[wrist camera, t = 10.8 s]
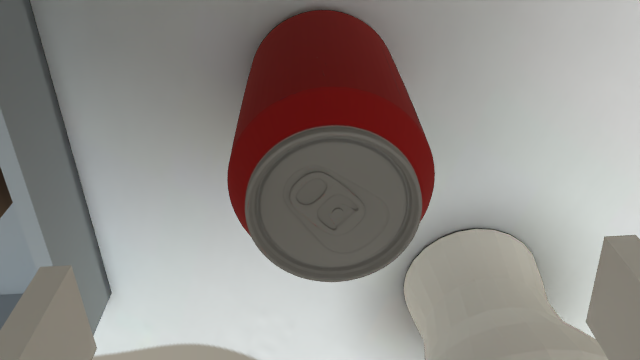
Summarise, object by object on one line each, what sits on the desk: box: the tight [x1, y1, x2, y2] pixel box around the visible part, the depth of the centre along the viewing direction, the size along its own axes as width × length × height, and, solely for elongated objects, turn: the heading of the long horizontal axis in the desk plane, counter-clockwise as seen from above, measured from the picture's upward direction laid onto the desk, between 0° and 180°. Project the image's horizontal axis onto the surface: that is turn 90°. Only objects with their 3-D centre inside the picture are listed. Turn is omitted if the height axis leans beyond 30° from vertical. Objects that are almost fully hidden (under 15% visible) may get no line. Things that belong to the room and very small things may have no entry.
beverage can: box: [228, 10, 435, 282], centre depth 23 cm, size 7×7×12 cm
